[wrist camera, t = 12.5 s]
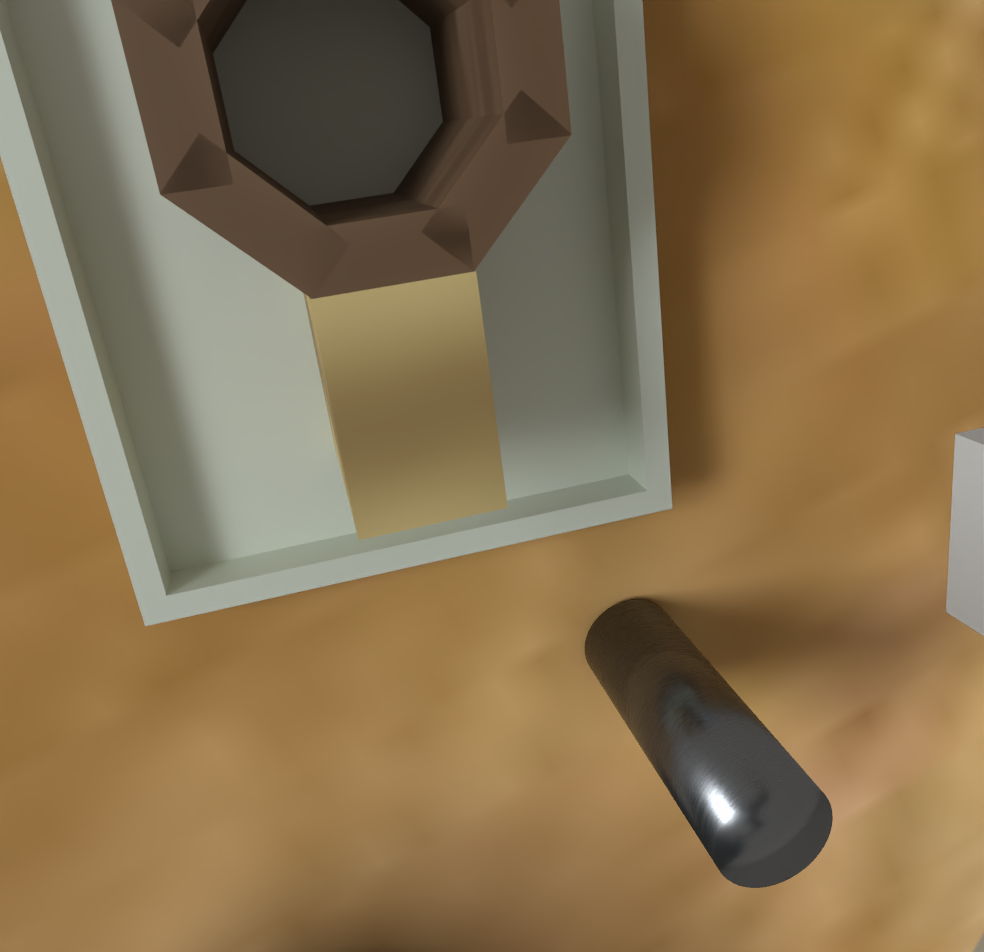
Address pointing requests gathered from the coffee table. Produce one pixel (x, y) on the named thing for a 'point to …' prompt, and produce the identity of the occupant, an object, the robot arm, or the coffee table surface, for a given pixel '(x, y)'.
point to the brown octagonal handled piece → (378, 238)
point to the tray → (281, 307)
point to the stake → (708, 748)
